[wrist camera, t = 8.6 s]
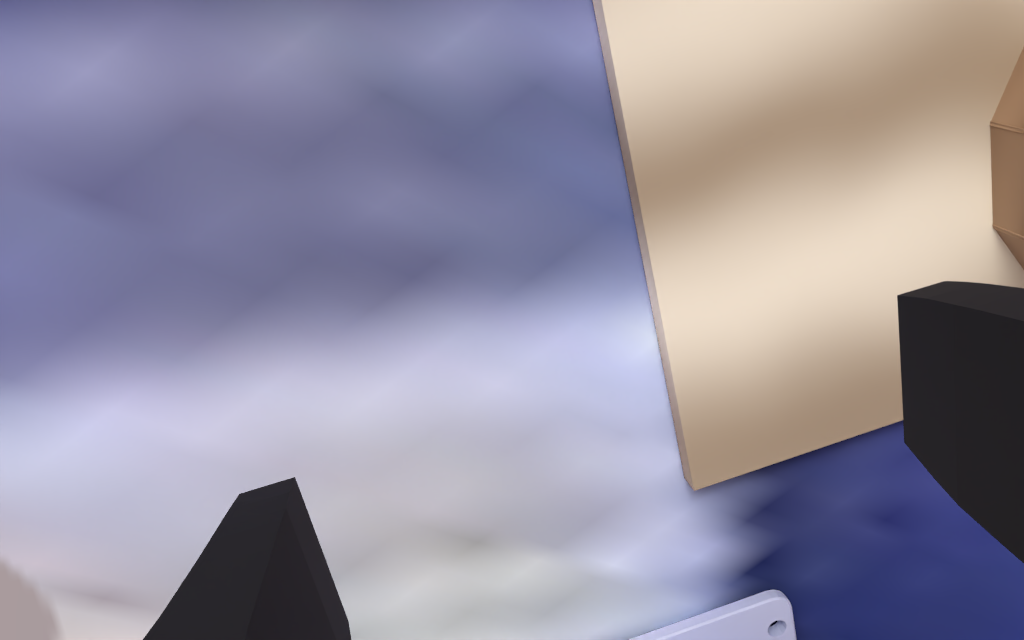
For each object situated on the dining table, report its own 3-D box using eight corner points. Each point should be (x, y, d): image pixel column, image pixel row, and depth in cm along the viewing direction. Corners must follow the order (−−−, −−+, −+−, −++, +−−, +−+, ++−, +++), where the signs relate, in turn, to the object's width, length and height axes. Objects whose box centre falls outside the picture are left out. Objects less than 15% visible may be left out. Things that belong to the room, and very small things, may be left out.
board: (1322, 262, 24) (1345, 269, 24) (684, 477, 23) (694, 490, 22) (1404, -369, 19) (1438, -379, 18) (563, -151, 17) (572, -155, 16)
